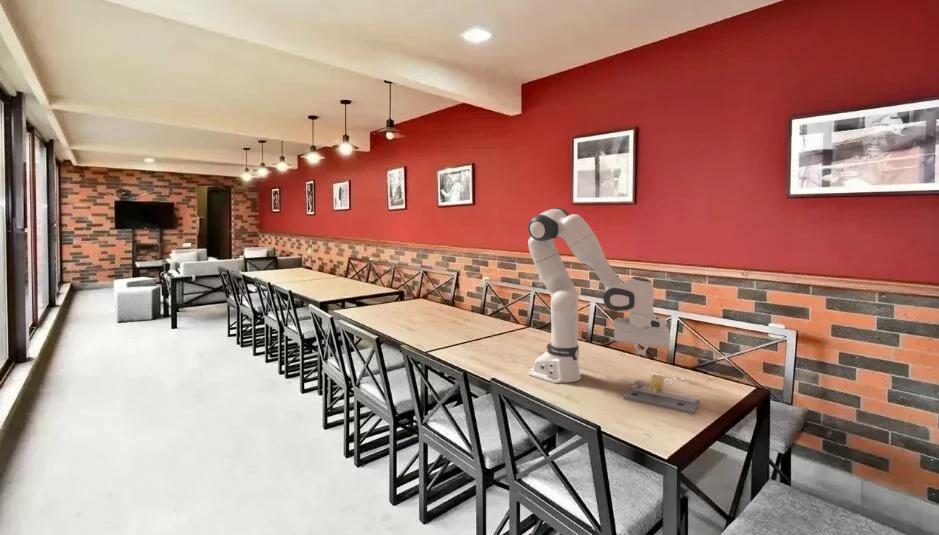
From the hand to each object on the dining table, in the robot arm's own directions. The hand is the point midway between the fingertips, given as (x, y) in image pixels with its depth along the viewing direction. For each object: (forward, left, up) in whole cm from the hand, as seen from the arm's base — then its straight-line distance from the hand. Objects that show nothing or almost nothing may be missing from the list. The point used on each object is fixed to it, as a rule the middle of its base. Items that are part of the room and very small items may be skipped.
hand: (641, 354), depth 173 cm
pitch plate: (+8, -3, -15) cm, 18 cm away
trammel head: (+6, -2, -14) cm, 15 cm away
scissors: (+2, +24, -16) cm, 29 cm away
